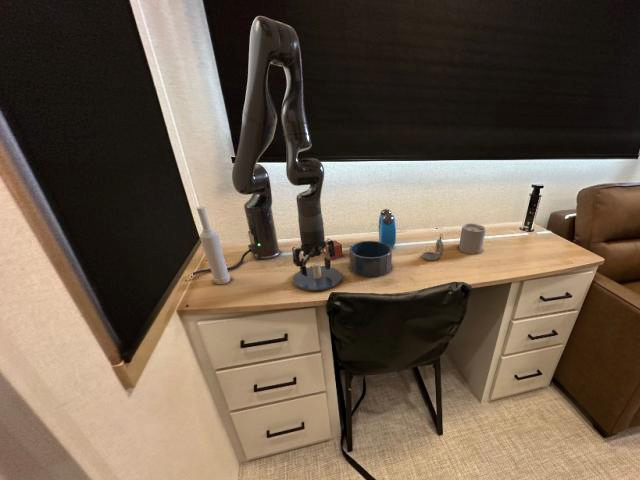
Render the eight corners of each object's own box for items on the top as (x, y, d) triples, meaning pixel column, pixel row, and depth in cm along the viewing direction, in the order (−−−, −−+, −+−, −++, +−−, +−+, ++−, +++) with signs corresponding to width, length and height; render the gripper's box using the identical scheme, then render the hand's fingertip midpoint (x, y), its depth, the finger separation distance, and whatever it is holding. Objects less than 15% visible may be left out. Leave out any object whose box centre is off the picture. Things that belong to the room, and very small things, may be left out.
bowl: (366, 281, 111) (365, 262, 107) (342, 264, 121) (341, 246, 117) (399, 269, 120) (400, 251, 116) (374, 255, 130) (375, 237, 125)
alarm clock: (395, 251, 134) (396, 216, 125) (381, 251, 133) (381, 216, 124) (391, 239, 144) (392, 206, 136) (378, 239, 143) (378, 206, 135)
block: (331, 259, 125) (330, 247, 122) (325, 254, 128) (324, 243, 125) (342, 256, 127) (342, 244, 125) (336, 251, 130) (335, 240, 128)
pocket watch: (419, 257, 130) (421, 234, 124) (431, 251, 135) (434, 229, 130) (434, 264, 125) (437, 240, 120) (447, 258, 130) (450, 235, 125)
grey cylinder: (484, 253, 136) (489, 231, 130) (462, 254, 135) (466, 231, 129) (474, 241, 147) (478, 220, 141) (454, 241, 146) (457, 220, 140)
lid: (307, 297, 101) (305, 280, 97) (285, 277, 111) (282, 261, 107) (351, 282, 110) (350, 266, 107) (327, 264, 120) (325, 249, 117)
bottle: (217, 276, 109) (195, 204, 95) (233, 276, 109) (213, 205, 96) (211, 284, 104) (186, 210, 91) (227, 284, 105) (205, 210, 91)
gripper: (325, 219, 106) (329, 262, 115) (284, 227, 98) (292, 273, 107) (337, 226, 101) (339, 270, 110) (295, 235, 93) (302, 282, 102)
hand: (316, 271), depth 109 cm, fingers open, 8 cm apart
